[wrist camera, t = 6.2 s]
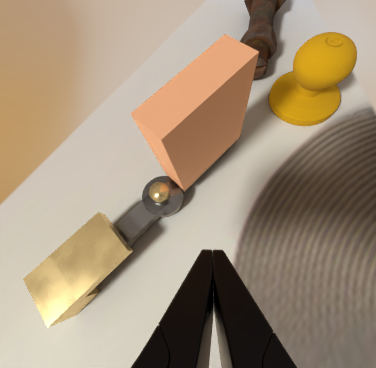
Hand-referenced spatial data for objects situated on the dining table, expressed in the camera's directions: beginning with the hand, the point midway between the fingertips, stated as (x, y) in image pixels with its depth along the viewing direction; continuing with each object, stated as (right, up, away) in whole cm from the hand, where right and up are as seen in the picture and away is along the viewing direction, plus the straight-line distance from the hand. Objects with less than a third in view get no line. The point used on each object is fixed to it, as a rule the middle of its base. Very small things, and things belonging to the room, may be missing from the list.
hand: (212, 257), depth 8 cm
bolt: (+9, +24, +22) cm, 33 cm away
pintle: (-4, +2, +13) cm, 14 cm away
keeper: (-11, -6, +13) cm, 18 cm away
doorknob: (+14, +14, +17) cm, 26 cm away
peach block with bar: (-4, +1, +15) cm, 15 cm away
